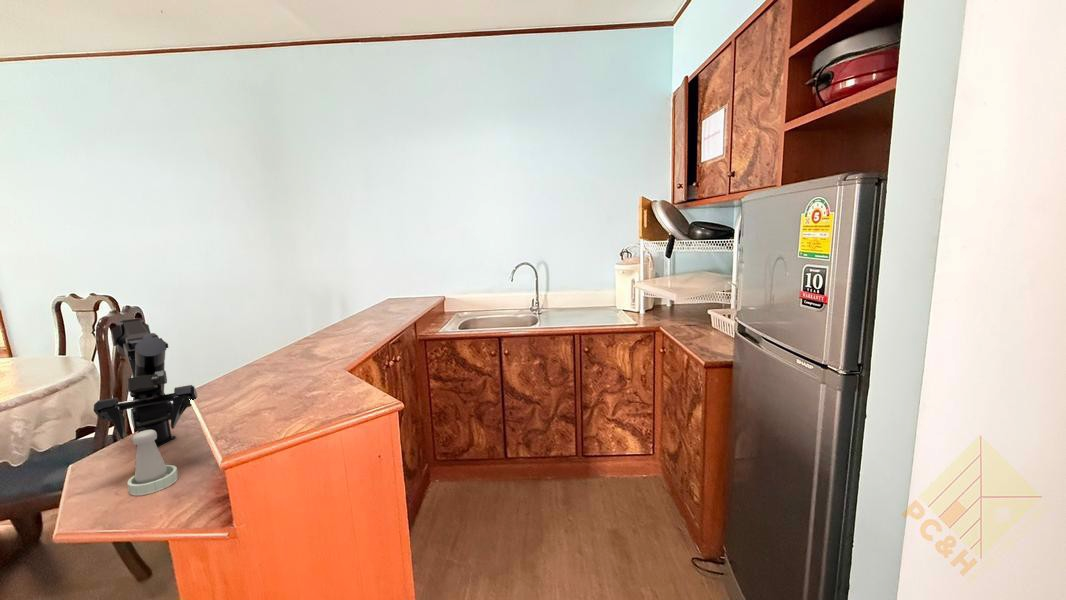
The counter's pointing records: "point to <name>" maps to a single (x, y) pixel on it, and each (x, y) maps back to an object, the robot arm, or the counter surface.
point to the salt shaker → (148, 458)
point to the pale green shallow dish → (153, 483)
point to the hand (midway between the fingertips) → (148, 433)
